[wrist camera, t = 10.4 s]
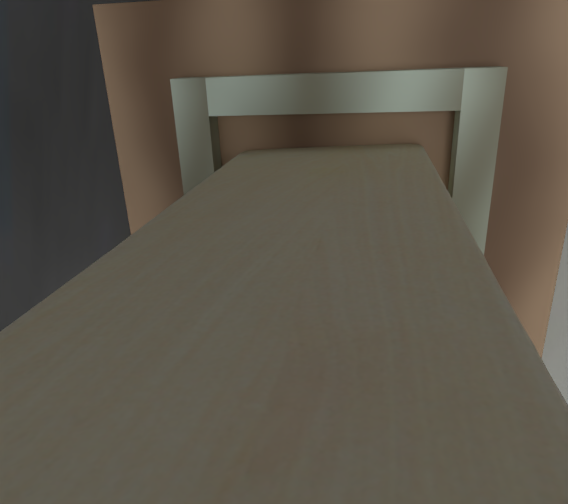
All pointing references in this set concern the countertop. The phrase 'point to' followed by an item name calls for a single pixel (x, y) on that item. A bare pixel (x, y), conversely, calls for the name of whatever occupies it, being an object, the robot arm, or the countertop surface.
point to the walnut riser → (357, 106)
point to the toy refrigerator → (285, 352)
